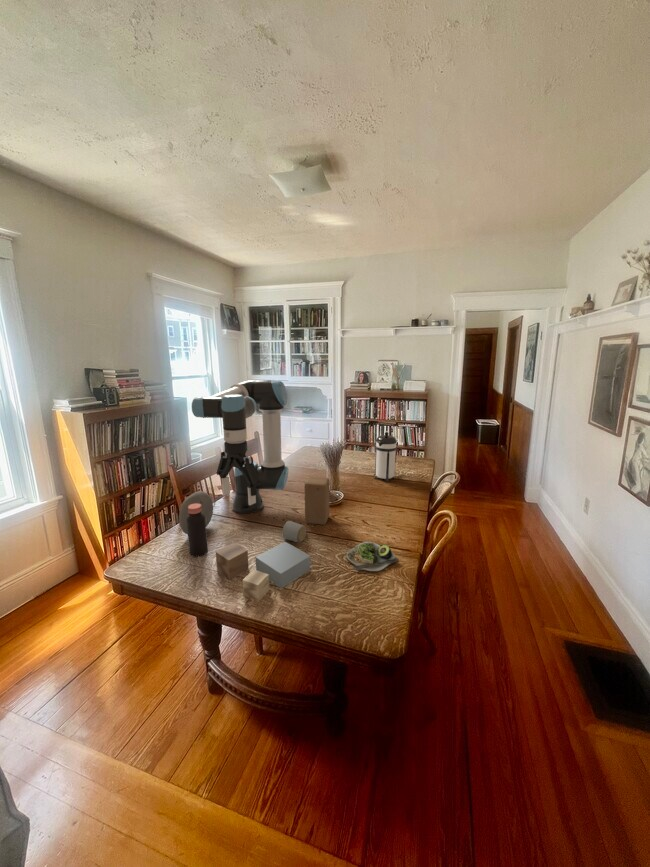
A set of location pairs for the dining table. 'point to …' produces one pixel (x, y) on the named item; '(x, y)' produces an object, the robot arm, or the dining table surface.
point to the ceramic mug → (294, 531)
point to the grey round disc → (193, 499)
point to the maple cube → (256, 585)
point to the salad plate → (371, 556)
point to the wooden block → (317, 500)
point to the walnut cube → (232, 560)
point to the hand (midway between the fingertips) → (238, 499)
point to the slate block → (283, 564)
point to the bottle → (196, 531)
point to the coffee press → (385, 457)
